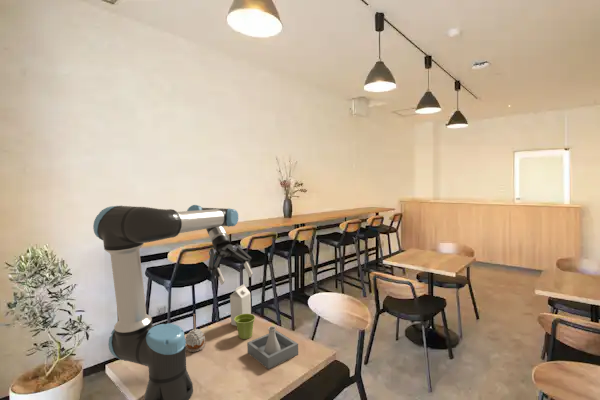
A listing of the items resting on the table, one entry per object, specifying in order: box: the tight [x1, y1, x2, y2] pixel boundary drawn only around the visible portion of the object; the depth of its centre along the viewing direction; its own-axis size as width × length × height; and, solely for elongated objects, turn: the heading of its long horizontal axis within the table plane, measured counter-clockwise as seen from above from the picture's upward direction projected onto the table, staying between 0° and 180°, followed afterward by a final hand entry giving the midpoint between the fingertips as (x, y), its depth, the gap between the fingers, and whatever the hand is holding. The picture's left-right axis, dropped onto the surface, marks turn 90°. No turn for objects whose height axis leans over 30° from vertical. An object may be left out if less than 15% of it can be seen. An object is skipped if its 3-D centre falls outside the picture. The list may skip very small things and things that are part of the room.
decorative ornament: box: [185, 313, 206, 352], centre depth 138 cm, size 8×8×15 cm
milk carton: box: [229, 283, 252, 327], centre depth 159 cm, size 7×7×19 cm
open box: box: [246, 330, 299, 370], centre depth 133 cm, size 15×15×4 cm
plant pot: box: [234, 313, 256, 340], centre depth 148 cm, size 9×9×9 cm
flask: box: [264, 325, 281, 355], centre depth 133 cm, size 7×7×10 cm
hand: (237, 279), depth 137 cm, fingers open, 13 cm apart
